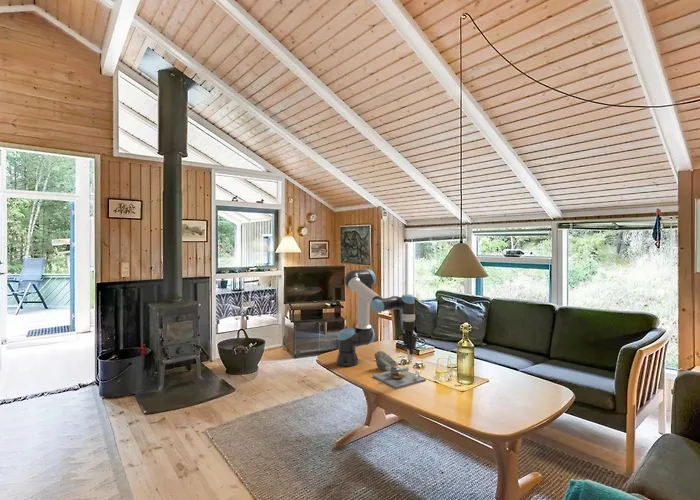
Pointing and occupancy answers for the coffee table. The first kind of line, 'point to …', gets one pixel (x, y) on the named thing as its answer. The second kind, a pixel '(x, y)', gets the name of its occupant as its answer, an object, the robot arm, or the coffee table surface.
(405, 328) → the robot arm
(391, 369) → the cam capstan
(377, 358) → the rock
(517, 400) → the coffee table surface
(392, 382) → the stand board
